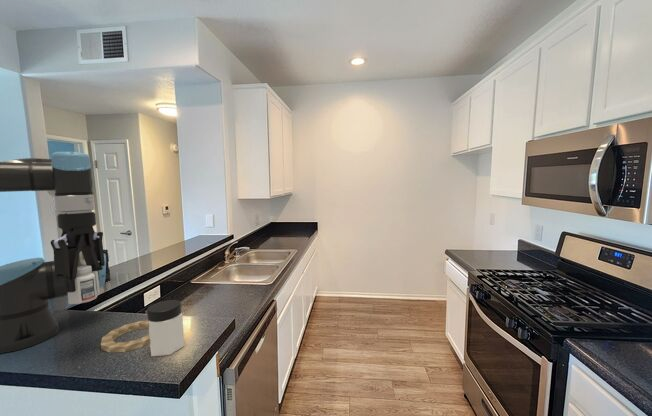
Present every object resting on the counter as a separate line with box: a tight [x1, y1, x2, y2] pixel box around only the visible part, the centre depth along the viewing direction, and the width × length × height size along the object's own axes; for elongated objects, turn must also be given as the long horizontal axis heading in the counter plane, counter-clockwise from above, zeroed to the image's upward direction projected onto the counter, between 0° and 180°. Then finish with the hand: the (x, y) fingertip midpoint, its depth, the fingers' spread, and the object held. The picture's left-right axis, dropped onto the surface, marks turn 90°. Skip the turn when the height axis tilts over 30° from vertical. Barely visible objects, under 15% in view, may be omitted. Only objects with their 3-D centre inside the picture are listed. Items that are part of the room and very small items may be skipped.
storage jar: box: [103, 249, 111, 284], centre depth 134 cm, size 10×10×15 cm
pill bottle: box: [76, 266, 98, 304], centre depth 75 cm, size 5×5×9 cm
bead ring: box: [100, 320, 150, 354], centre depth 84 cm, size 15×15×2 cm
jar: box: [146, 299, 185, 357], centre depth 77 cm, size 9×8×12 cm
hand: (84, 298), depth 75 cm, fingers closed on pill bottle, 5 cm apart
